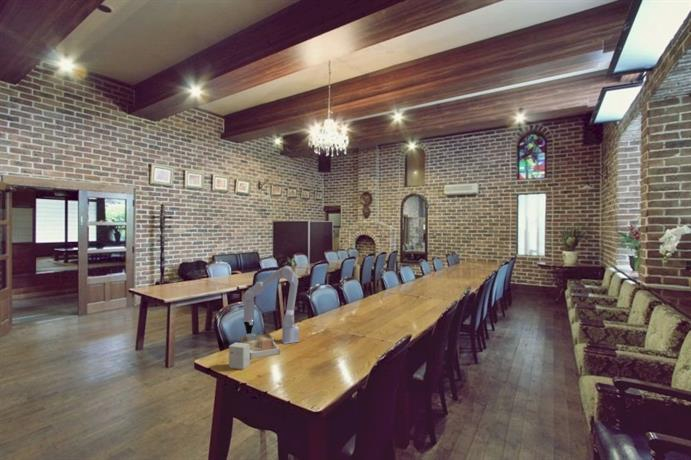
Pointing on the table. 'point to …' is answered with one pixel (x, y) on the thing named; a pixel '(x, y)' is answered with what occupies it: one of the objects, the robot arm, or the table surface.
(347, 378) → the table surface
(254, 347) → the bench plate
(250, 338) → the slate tile
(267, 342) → the terracotta tile
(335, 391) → the table surface
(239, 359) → the small box
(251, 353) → the tray
